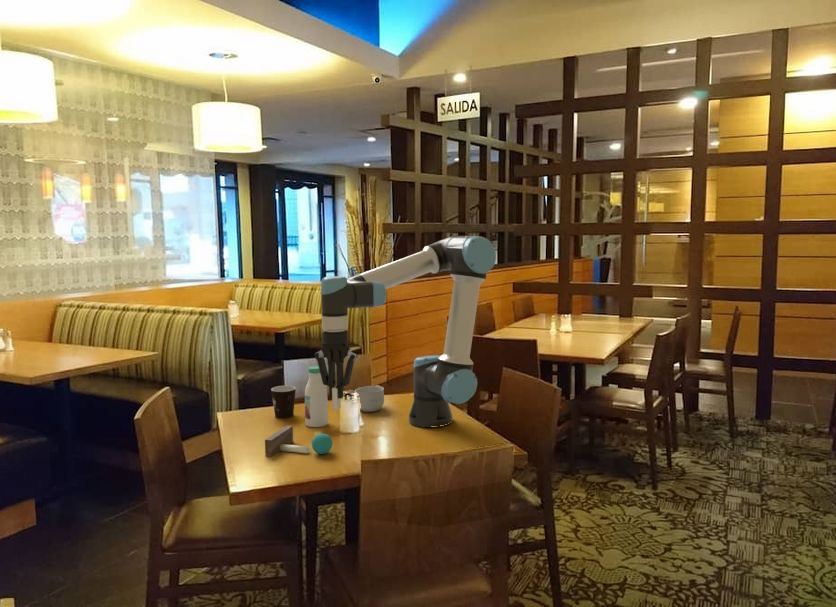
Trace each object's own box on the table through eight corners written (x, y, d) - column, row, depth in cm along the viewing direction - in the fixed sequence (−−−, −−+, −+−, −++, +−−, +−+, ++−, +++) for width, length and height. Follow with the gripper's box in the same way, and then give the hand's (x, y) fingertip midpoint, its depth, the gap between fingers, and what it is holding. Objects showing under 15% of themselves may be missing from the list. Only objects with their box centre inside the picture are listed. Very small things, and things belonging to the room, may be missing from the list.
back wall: (293, 441, 201) (292, 426, 200) (271, 456, 187) (271, 440, 187) (287, 440, 201) (286, 425, 201) (265, 456, 188) (264, 439, 187)
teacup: (372, 415, 228) (372, 393, 227) (349, 411, 234) (348, 389, 233) (394, 406, 240) (394, 385, 239) (371, 402, 245) (371, 382, 244)
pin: (306, 448, 189) (279, 445, 192) (306, 454, 189) (279, 451, 192) (309, 445, 191) (282, 442, 194) (309, 452, 191) (282, 449, 194)
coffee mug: (273, 412, 232) (272, 386, 231) (297, 412, 233) (296, 385, 231) (269, 422, 220) (268, 394, 219) (294, 421, 221) (293, 393, 220)
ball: (321, 426, 191) (313, 441, 193) (313, 435, 186) (305, 450, 188) (338, 437, 191) (330, 452, 193) (331, 445, 185) (322, 461, 187)
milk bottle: (330, 421, 221) (329, 365, 219) (325, 428, 214) (323, 370, 211) (308, 420, 222) (307, 364, 220) (302, 427, 214) (301, 369, 212)
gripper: (360, 328, 187) (361, 406, 189) (319, 326, 190) (321, 403, 193) (351, 332, 179) (352, 413, 182) (308, 330, 183) (310, 410, 186)
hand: (336, 408), depth 188 cm, fingers closed
